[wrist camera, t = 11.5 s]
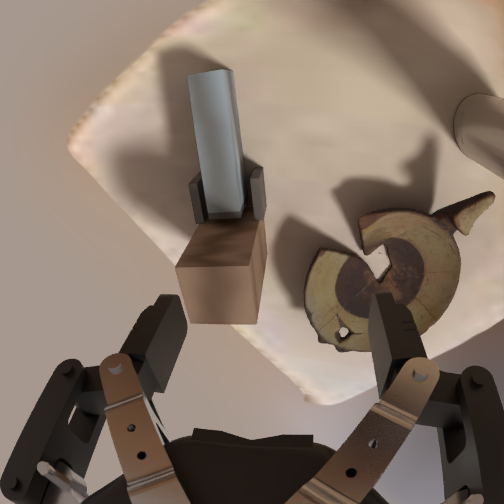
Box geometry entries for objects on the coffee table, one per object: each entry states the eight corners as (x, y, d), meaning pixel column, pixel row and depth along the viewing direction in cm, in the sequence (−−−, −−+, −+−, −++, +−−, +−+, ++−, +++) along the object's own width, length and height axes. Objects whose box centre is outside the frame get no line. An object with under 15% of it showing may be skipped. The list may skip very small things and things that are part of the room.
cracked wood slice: (267, 258, 45) (262, 292, 38) (455, 144, 33) (485, 160, 26) (343, 350, 52) (346, 385, 46) (495, 267, 40) (517, 296, 34)
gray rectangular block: (233, 71, 32) (222, 69, 27) (248, 198, 40) (240, 218, 35) (202, 75, 33) (187, 75, 28) (220, 200, 41) (209, 219, 36)
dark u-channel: (262, 167, 38) (248, 213, 26) (271, 253, 44) (261, 324, 32) (199, 172, 39) (157, 219, 27) (213, 255, 45) (186, 323, 33)
